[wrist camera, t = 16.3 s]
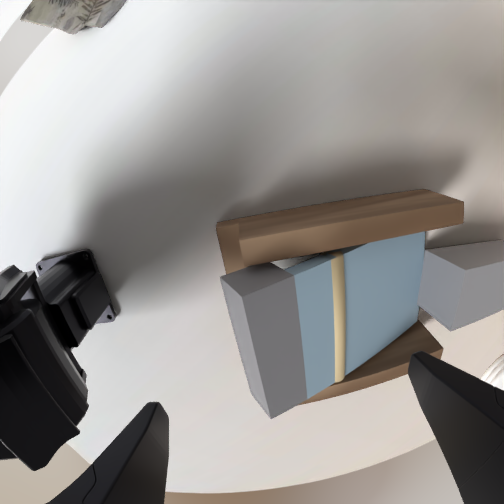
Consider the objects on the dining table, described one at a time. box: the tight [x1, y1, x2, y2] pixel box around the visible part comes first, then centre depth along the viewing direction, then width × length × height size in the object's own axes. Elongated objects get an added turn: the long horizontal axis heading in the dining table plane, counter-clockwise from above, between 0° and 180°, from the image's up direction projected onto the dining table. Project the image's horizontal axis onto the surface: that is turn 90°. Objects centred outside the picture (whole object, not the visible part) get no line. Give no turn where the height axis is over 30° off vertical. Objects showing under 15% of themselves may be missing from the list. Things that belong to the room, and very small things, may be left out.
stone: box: [417, 240, 504, 331], centre depth 19 cm, size 5×5×12 cm
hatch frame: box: [216, 189, 464, 405], centre depth 20 cm, size 14×16×5 cm
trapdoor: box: [220, 231, 425, 419], centre depth 19 cm, size 10×16×3 cm, turn 100°
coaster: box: [480, 355, 504, 390], centre depth 29 cm, size 10×10×4 cm
